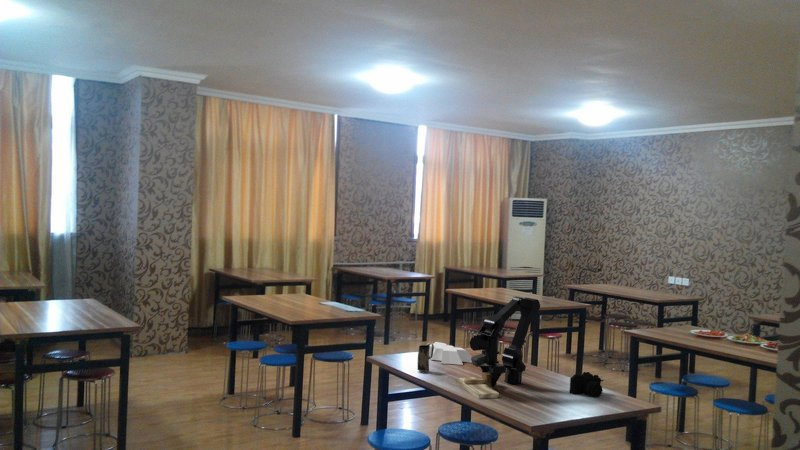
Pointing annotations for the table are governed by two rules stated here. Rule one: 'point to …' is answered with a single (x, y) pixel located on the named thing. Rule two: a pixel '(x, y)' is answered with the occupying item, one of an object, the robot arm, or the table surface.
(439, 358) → the white faceted block
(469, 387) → the board
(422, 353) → the mug
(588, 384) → the film camera
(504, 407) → the table surface
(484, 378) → the wooden mallet
